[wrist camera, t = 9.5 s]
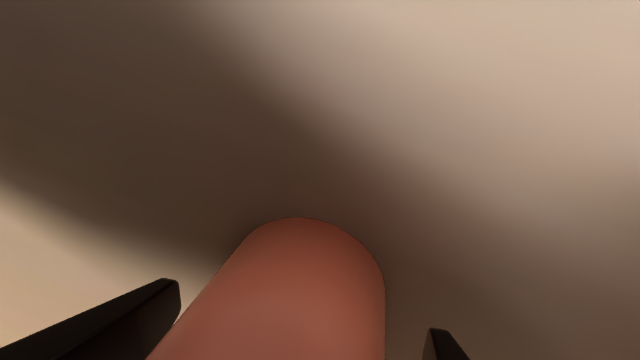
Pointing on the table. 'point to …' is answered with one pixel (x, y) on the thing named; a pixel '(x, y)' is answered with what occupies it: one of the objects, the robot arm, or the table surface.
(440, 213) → the table surface
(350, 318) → the cap
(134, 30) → the table surface
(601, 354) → the table surface
